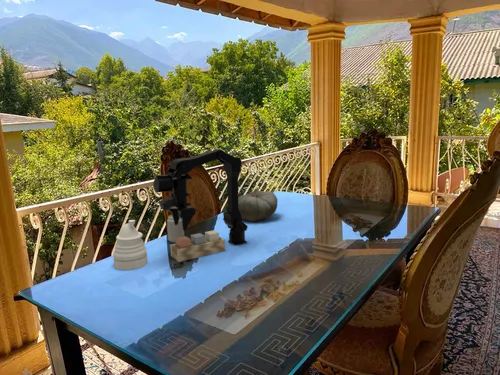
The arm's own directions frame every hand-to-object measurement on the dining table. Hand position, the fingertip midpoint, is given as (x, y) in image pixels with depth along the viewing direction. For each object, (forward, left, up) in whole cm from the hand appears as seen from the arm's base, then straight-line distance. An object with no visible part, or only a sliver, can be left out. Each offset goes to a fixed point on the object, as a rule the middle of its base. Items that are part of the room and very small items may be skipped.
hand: (180, 227), depth 157 cm
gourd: (-58, -29, -13) cm, 66 cm away
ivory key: (-14, +1, -9) cm, 17 cm away
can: (-6, -20, -13) cm, 24 cm away
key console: (-7, +1, -13) cm, 14 cm away
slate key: (-7, +1, -9) cm, 12 cm away
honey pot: (+20, -5, -13) cm, 24 cm away
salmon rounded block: (0, +1, -9) cm, 10 cm away
